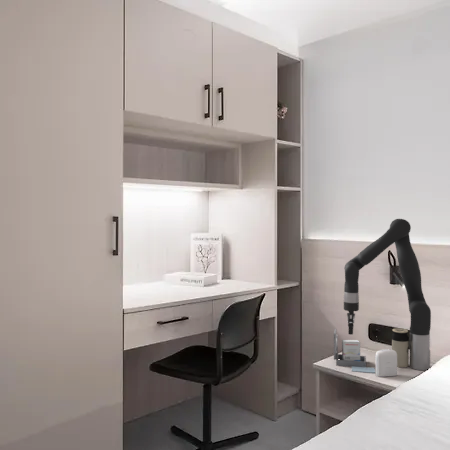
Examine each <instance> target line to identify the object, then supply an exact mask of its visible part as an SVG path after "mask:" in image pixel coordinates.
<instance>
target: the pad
mask: <svg viewBox="0 0 450 450" xmlns="http://www.w3.org/2000/svg"><path fill="white" fill-rule="evenodd" d="M351 372H354V373H357V372H358V373H364V374H365V373H367V374H376V367H367V366H366V367H357V366H352V367H351Z"/></svg>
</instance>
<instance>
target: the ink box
mask: <svg viewBox="0 0 450 450" xmlns="http://www.w3.org/2000/svg"><path fill="white" fill-rule="evenodd" d="M341 354H342V360H349V361H360V356H361V342H360V340H358V339H342V340H341Z"/></svg>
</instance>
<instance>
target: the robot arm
mask: <svg viewBox="0 0 450 450" xmlns="http://www.w3.org/2000/svg"><path fill="white" fill-rule="evenodd" d="M411 228H412V227H411V224H410V222H409V221H408V220H406V219H404V218H396V219H394V220H392V221H391V222H390V225H389V228H388V229H387V230H386V232H385V233H383V234H382V235H381V236H380V237H379V238H378V239H375V240H374V241H373V242H371V243H370V244H369V245H367V246H366V247H365V248H364V249H363V250H361V251H360V252H358V254H357V255H356V256H354V257H353V258H352V259H350V260H349V261H347V262H346V263H345V265H344V289H343V290H344V291H343V310H344V311H346V312H347V313H346V316H347V317H346V318H347V321H346V322H347V326H348V327H347V328H348V335H353V334H354V327H355V326H354V324H355V320H356V319H355V318H356V313H355V312H358V311H359V309H360V303H359V302H360V295H359V286H360V285H359V279H360V278H359V277H360V270H362V269H363V268H364V267H365V266H367V265H369V264H370V263H372V262H373V261H374V260H375V259H376V258H377V257H379V255H381V254H382V253H383V252H384V251H386V249H389V247H390V246H392V245H393V244H394V245H395V249H396V256H397V257H396V258H397V262H398V267H399V271H400V276H401V279H402V281H403V282H402V283H403V286H404V288H405V291H406V294H407V295H406V296H407V301H408V302H407V303H408V310H409V314H410V326H409V368H411V369H413V370H418V371H428V370H427V369H428V368H430V369H431V350H430V347H431V346H430V344H431V341H430V340H431V339H430V338H431V334H430V331H431V326H432V323H431V322H432V321H431V320H432V312H431V307H430V306H429V305H428V303H427V302H426V300H425V296H424V293H423V288H422V273H421V268H420V264H419V262H418V261H419V260H418V258H417V255H416V253H415V251H414V249H413V247H412V243H411V238H410V232H411Z"/></svg>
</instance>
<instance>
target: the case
mask: <svg viewBox="0 0 450 450" xmlns="http://www.w3.org/2000/svg"><path fill="white" fill-rule="evenodd" d="M338 337H339V335H338V334H337V328H334V331H333V360H334V361H335V365H336V366H337V365H339V366H341V367H350V368H352V366H357V367H367V366H366V365H367V364H366V363H367V361H366V359H367V357H366V355H360V361H349V360H342V353H339V352H338V351H339V338H338ZM338 359H340V360H338Z"/></svg>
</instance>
